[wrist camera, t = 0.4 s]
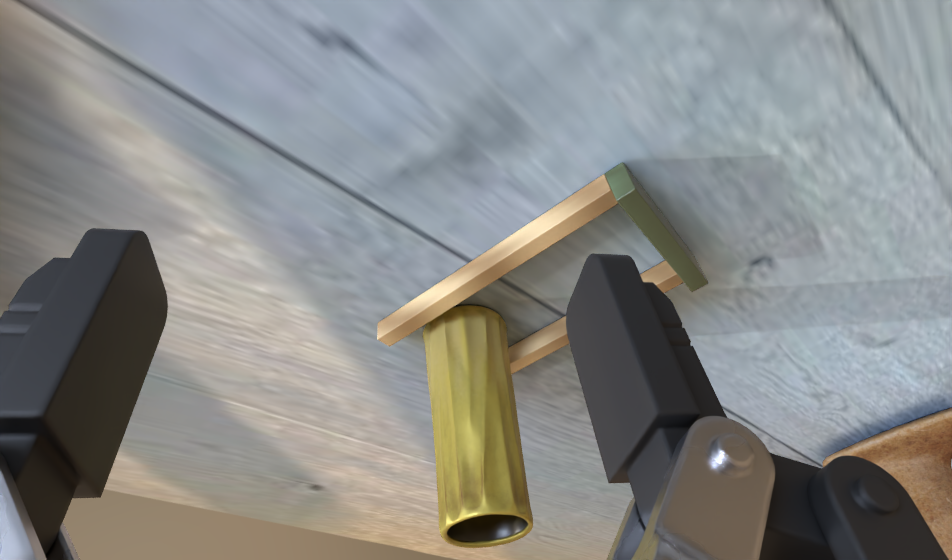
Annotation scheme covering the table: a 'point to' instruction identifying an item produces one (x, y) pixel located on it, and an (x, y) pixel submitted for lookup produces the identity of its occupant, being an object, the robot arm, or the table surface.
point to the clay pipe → (917, 467)
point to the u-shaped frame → (537, 238)
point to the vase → (475, 430)
